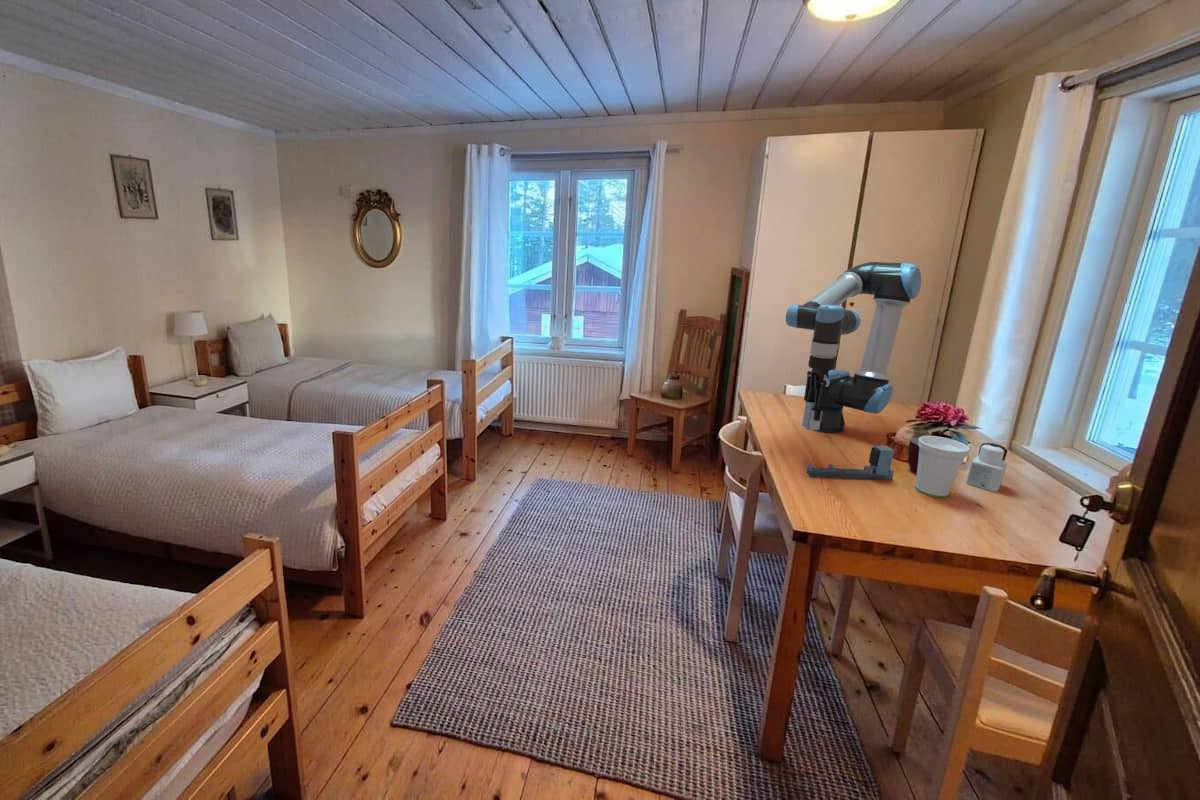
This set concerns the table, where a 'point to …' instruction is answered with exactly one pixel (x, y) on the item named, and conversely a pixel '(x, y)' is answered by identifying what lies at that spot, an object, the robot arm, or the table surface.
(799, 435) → the table surface
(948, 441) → the cup
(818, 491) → the table surface
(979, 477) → the container
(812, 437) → the table surface
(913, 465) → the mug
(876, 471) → the rail
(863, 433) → the table surface
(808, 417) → the finger right
